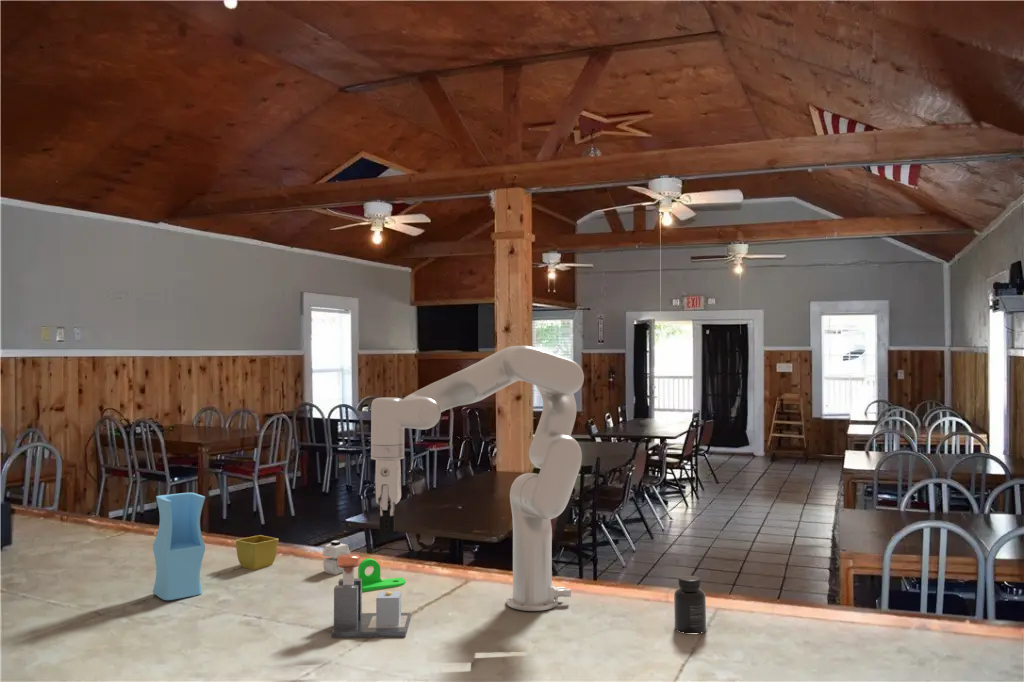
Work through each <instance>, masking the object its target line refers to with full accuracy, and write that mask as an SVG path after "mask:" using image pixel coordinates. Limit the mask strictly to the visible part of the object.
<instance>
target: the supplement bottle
mask: <svg viewBox="0 0 1024 682" xmlns="http://www.w3.org/2000/svg"><path fill="white" fill-rule="evenodd" d="M677 587H679V588H677V589H676V590H675V592H674V594H673V600H674V601H673V602H674V603H673V604H674V606H673V607H674V629H675V631H677V630H678V631H680V632H684V633H701V632H704V631H705V630H706V631H707V613H706V612H707V611H706V610H707V607H706V604H707V601H706V594H705V592H704V591H703V590H702V589H701V587H702V584H701V578H700V577H698V576H695V575H681V576H679V577H678V585H677ZM678 631H677V632H678ZM706 631H705V632H706ZM680 632H679V633H680ZM705 632H704V633H705Z"/></svg>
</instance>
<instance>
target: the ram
mask: <svg viewBox="0 0 1024 682" xmlns="http://www.w3.org/2000/svg"><path fill="white" fill-rule="evenodd" d="M360 559H361V557H360V554H358V553H350V554H342V555H339V556H337V567H340V568H343V572H342V579H343V585H354V579H355V576H354V575H355V568H357V567H359V565H360V563H361V560H360Z"/></svg>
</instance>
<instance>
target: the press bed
mask: <svg viewBox="0 0 1024 682" xmlns="http://www.w3.org/2000/svg"><path fill="white" fill-rule="evenodd" d="M362 612H363V592H362V578H358V577H357V578H355V577H354V585H343V578H339V580H338V585H334V588H333V629H332V631H331V639H348V638H349V639H350V638H351V639H355V638H357V639H358V638H359V639H360V638H361V639H362V638H406V636H407V633H408V629H409V625H410V622H411V617H412V615H411V614H412V613H411V612H401V619H400V622H399V625H376V612H363V613H362Z"/></svg>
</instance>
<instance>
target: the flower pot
mask: <svg viewBox="0 0 1024 682" xmlns="http://www.w3.org/2000/svg"><path fill="white" fill-rule="evenodd" d="M278 544H279V538H276V537H272V536H267V535H266V536H265V535H262V534H259V535H254V536H249V537H244V538H243V537H242V538H238V539H235V546H236V547H235V548H236V556H237V559H238V563H239V564H240V566H241V568H244V569H248V570H250V571H251V570H252V571H256V570H260V569H263V568H266V567H269V566H273V564H274V562H275V559H276V557H277V551H278Z"/></svg>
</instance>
